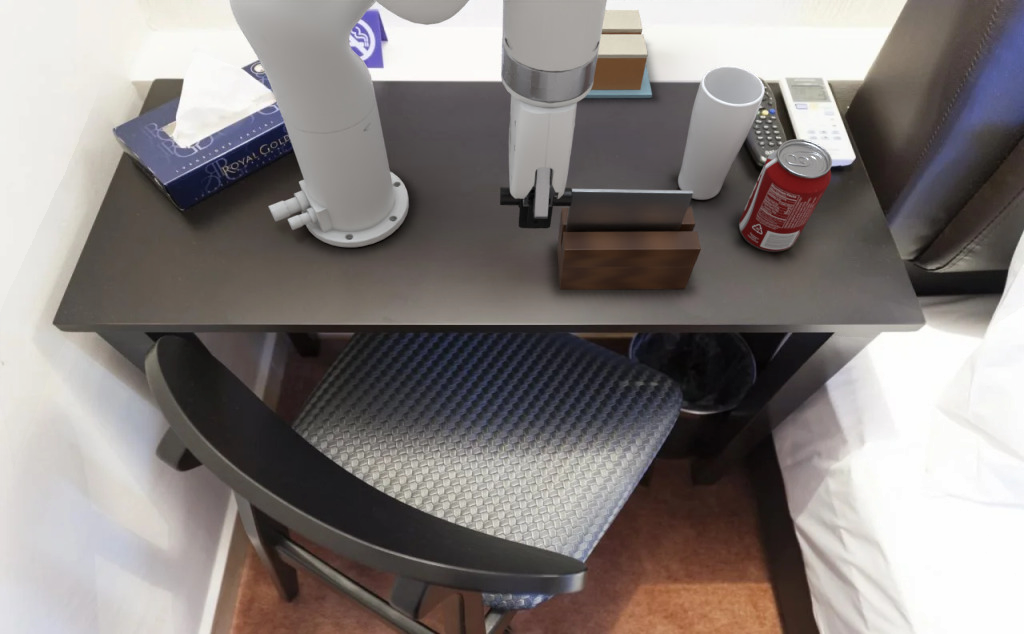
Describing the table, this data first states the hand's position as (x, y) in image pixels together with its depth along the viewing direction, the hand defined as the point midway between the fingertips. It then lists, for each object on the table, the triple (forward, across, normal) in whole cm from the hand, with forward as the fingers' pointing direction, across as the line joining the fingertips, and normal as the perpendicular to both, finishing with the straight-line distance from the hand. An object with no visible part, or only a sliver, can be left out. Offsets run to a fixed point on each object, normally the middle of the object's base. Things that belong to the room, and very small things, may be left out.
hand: (533, 215), depth 68 cm
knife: (+2, 0, +6) cm, 6 cm away
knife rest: (+8, 0, +10) cm, 13 cm away
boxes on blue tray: (+9, -35, +12) cm, 38 cm away
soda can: (+8, -5, +28) cm, 30 cm away
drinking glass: (+8, -12, +21) cm, 26 cm away
